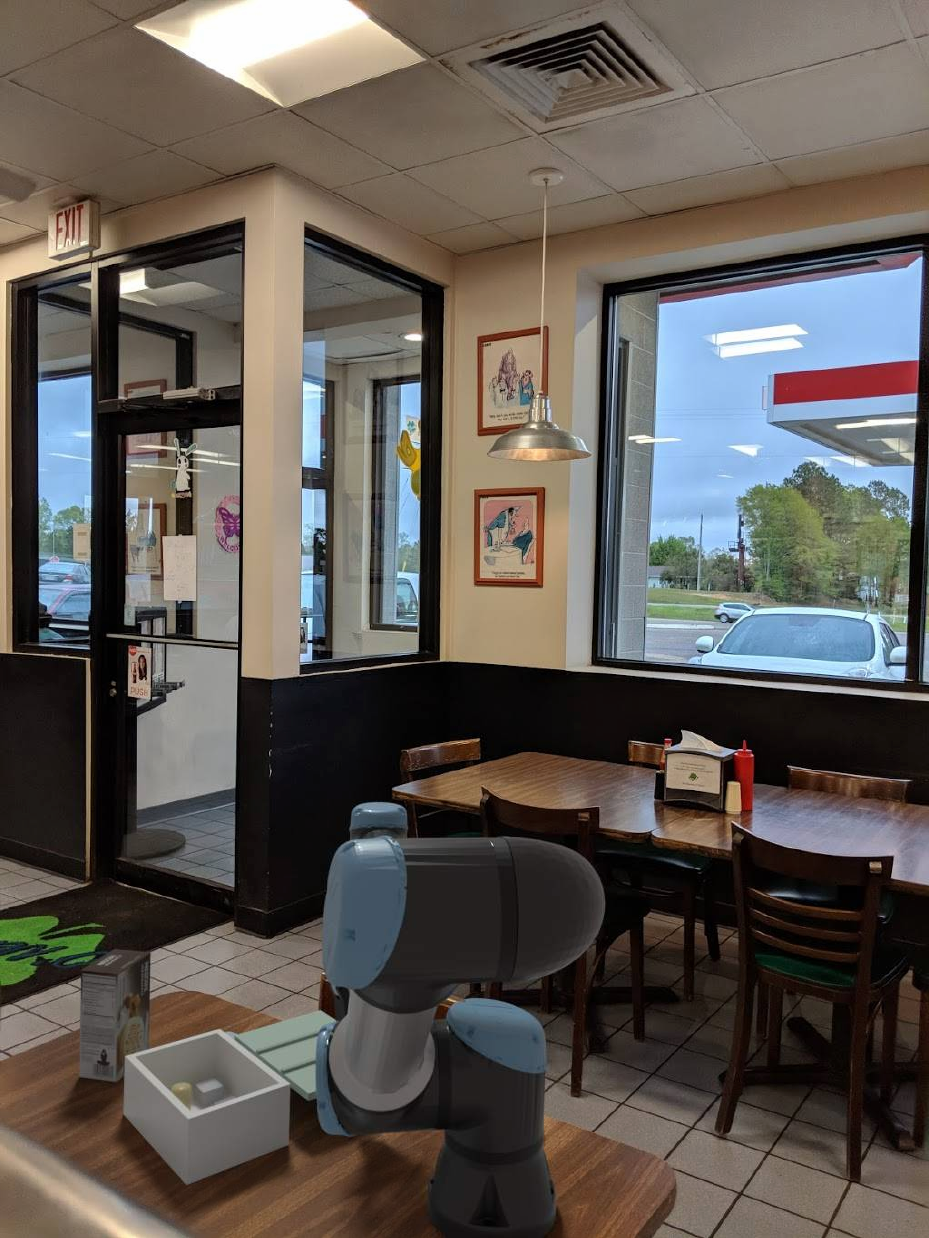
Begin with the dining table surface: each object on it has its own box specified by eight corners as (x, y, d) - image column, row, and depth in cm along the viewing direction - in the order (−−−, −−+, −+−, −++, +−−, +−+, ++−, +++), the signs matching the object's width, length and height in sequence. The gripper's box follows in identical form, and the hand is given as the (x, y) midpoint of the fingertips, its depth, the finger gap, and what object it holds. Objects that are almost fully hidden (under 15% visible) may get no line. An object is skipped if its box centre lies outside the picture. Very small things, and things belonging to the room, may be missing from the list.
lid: (425, 1093, 131) (427, 1020, 130) (333, 1130, 121) (335, 1050, 121) (319, 1023, 151) (321, 959, 151) (234, 1050, 141) (236, 981, 141)
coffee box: (112, 1049, 149) (115, 947, 148) (149, 1054, 147) (152, 951, 147) (77, 1077, 140) (79, 968, 139) (116, 1083, 138) (119, 973, 138)
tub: (288, 1144, 124) (290, 1083, 124) (186, 1184, 115) (188, 1119, 115) (218, 1083, 139) (220, 1028, 139) (123, 1114, 130) (124, 1055, 130)
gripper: (404, 902, 135) (399, 1067, 135) (312, 923, 125) (307, 1101, 126) (437, 917, 129) (432, 1089, 130) (344, 940, 119) (338, 1126, 120)
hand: (370, 1095), depth 128 cm, fingers closed on lid, 2 cm apart
